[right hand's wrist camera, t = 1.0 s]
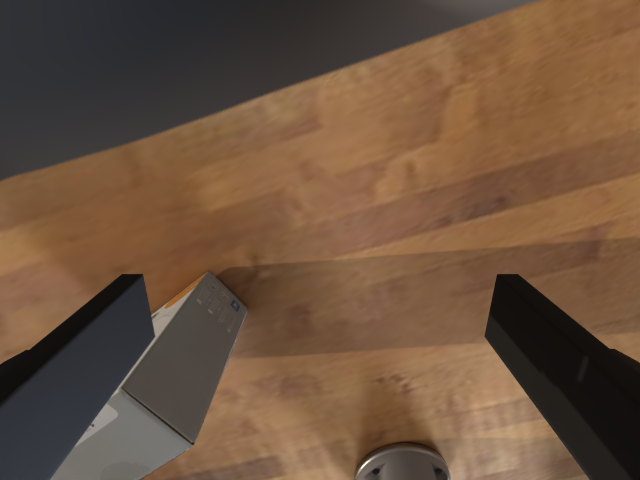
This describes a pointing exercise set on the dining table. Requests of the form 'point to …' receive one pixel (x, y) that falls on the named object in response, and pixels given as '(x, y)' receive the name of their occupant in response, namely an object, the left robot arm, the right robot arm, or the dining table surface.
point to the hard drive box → (162, 388)
